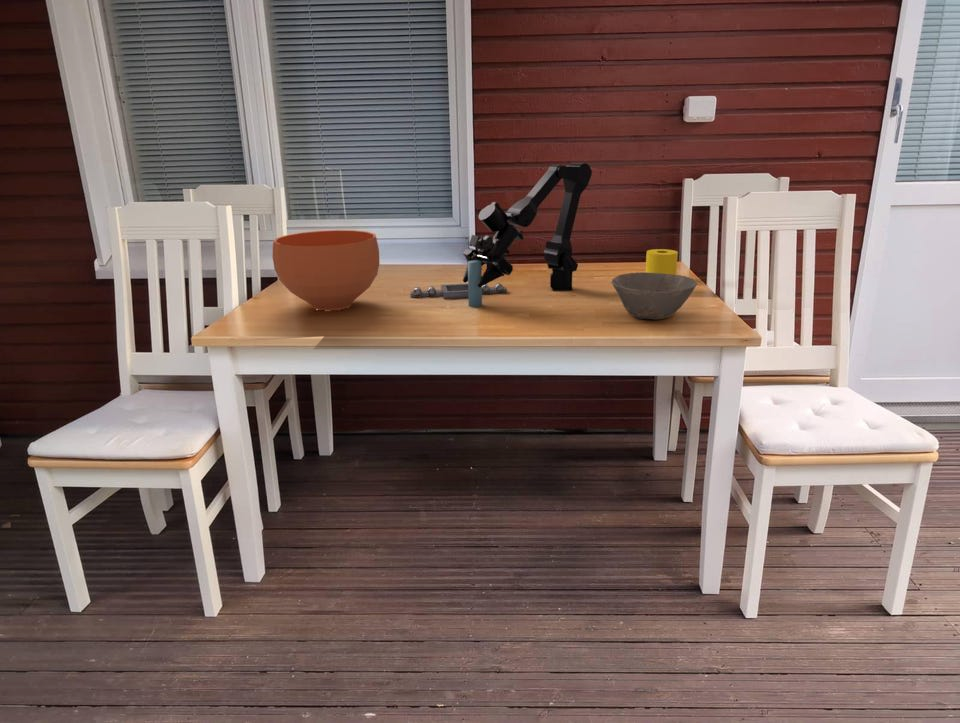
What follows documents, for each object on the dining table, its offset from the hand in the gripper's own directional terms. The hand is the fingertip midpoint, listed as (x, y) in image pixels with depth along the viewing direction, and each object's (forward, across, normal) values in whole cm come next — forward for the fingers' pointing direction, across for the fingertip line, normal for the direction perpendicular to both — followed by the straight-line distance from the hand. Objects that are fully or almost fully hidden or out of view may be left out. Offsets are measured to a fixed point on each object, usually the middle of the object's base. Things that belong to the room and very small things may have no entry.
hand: (471, 284), depth 191 cm
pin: (+4, 0, +6) cm, 7 cm away
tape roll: (-44, +11, +54) cm, 71 cm away
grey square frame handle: (+1, -15, +8) cm, 17 cm away
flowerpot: (+28, -26, -19) cm, 42 cm away
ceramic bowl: (-18, +40, +28) cm, 52 cm away
